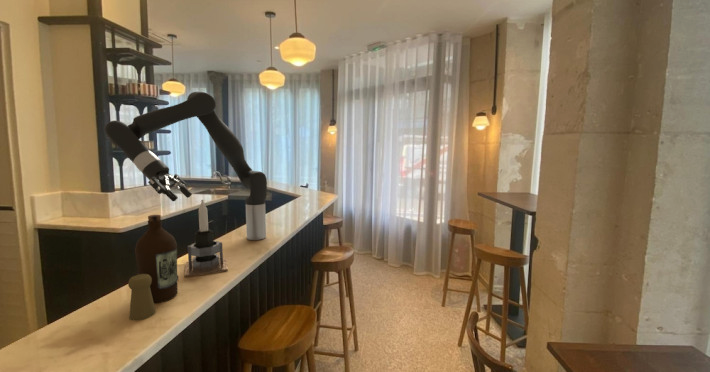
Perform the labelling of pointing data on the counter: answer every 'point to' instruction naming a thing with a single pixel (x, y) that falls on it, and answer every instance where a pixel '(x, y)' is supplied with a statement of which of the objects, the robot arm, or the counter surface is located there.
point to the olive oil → (158, 260)
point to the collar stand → (205, 266)
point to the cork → (141, 297)
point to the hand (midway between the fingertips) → (183, 197)
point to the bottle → (204, 233)
